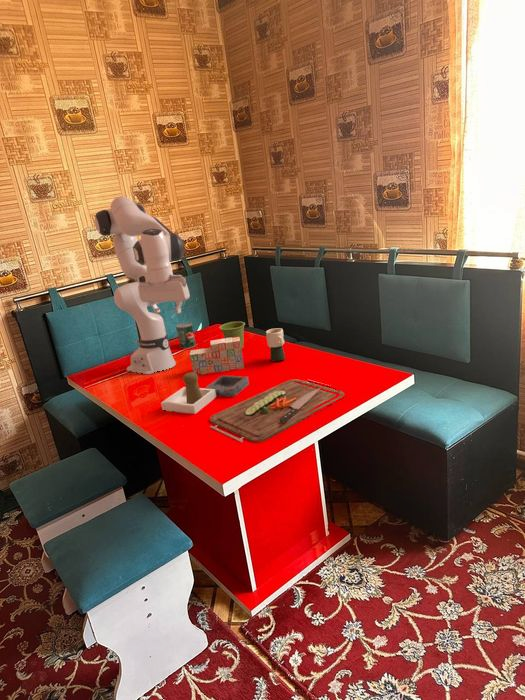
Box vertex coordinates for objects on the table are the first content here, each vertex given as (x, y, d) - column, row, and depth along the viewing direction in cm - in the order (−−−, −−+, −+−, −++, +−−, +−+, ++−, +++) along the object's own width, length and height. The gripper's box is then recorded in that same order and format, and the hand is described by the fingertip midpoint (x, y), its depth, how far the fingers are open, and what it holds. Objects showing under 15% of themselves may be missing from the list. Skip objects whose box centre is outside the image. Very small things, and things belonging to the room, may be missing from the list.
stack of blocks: (193, 376, 210) (187, 348, 206) (193, 371, 216) (188, 343, 212) (244, 368, 210) (240, 340, 206) (243, 363, 216) (239, 336, 212)
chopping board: (298, 379, 192) (297, 371, 191) (353, 394, 172) (353, 386, 171) (200, 424, 166) (199, 416, 165) (252, 449, 146) (251, 439, 145)
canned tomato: (194, 347, 248) (191, 326, 244) (179, 349, 248) (174, 328, 244) (196, 342, 255) (192, 321, 252) (181, 344, 255) (177, 323, 252)
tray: (162, 410, 180) (160, 402, 179) (185, 394, 191) (183, 387, 190) (195, 413, 173) (193, 405, 172) (216, 396, 185) (215, 389, 184)
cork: (206, 398, 183) (200, 370, 179) (199, 406, 177) (193, 377, 174) (191, 398, 185) (185, 370, 181) (183, 405, 179) (177, 377, 176)
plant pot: (221, 347, 242) (217, 324, 239) (245, 342, 244) (242, 320, 241) (225, 354, 231) (221, 330, 228) (250, 349, 233) (247, 325, 230)
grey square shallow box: (207, 394, 188) (205, 387, 187) (222, 382, 198) (221, 375, 197) (234, 396, 183) (232, 389, 182) (249, 384, 192) (247, 376, 191)
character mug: (291, 360, 211) (288, 331, 207) (276, 365, 208) (272, 335, 204) (279, 354, 220) (275, 326, 216) (264, 359, 217) (260, 330, 213)
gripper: (189, 272, 179) (196, 310, 183) (144, 274, 188) (151, 310, 193) (179, 276, 174) (186, 315, 178) (133, 278, 183) (140, 315, 188)
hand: (167, 312), depth 186 cm, fingers open, 8 cm apart
